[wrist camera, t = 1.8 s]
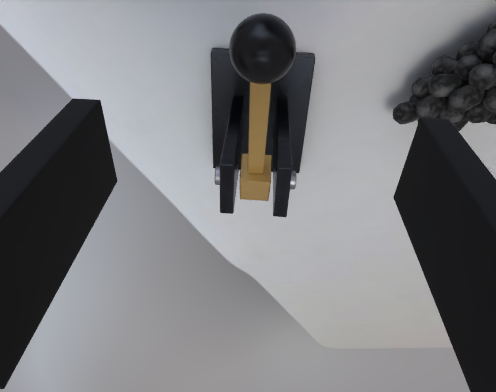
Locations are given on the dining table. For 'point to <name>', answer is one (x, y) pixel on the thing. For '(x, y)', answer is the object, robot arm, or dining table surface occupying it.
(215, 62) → the lever stand
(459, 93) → the fruit
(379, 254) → the dining table surface
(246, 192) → the tap lever
